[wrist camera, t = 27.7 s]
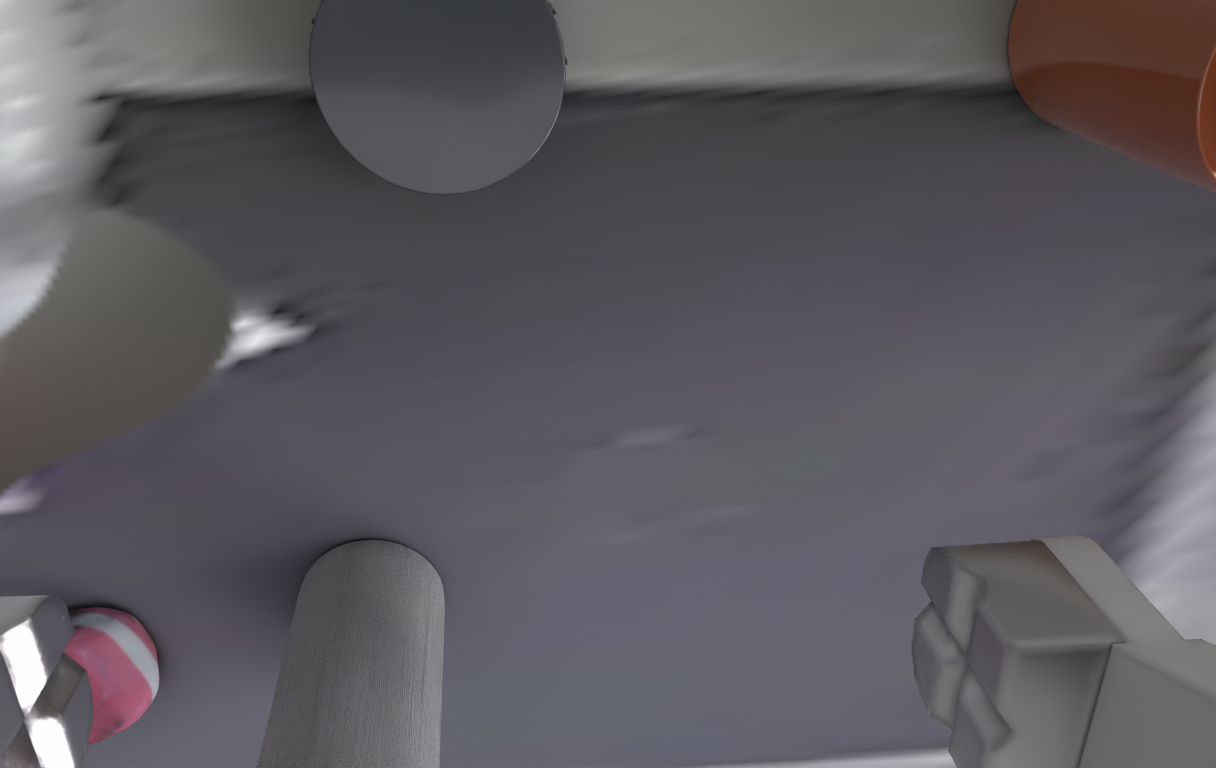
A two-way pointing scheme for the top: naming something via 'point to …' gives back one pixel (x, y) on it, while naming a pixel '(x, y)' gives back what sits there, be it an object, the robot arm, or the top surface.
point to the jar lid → (438, 87)
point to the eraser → (114, 666)
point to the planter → (361, 664)
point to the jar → (1124, 77)
